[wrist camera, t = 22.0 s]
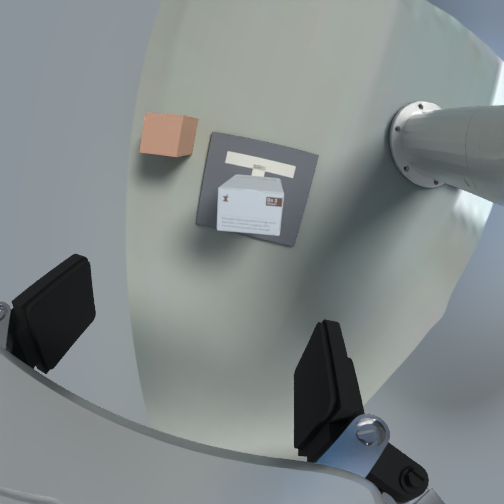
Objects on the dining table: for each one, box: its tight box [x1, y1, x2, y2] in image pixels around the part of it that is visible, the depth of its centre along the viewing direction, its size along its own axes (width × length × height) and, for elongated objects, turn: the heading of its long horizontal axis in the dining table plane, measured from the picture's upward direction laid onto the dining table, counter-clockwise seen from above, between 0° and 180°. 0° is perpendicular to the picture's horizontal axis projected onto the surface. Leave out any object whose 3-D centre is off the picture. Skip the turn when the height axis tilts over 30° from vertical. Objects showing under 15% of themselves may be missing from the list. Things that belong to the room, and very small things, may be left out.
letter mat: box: [196, 132, 319, 247], centre depth 35 cm, size 14×13×1 cm
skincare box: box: [217, 174, 284, 236], centre depth 30 cm, size 6×4×12 cm
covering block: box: [140, 113, 198, 157], centre depth 31 cm, size 5×5×6 cm
